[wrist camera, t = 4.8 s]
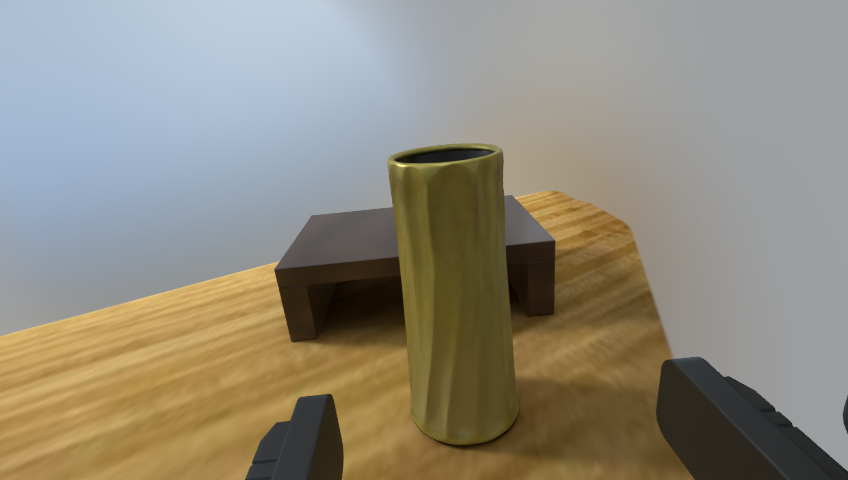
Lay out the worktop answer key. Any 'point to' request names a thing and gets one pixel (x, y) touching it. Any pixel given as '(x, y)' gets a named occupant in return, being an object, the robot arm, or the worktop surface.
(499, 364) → the vase
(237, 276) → the worktop surface
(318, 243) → the shelf
